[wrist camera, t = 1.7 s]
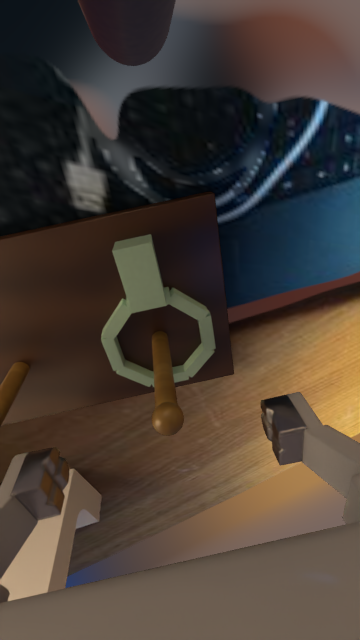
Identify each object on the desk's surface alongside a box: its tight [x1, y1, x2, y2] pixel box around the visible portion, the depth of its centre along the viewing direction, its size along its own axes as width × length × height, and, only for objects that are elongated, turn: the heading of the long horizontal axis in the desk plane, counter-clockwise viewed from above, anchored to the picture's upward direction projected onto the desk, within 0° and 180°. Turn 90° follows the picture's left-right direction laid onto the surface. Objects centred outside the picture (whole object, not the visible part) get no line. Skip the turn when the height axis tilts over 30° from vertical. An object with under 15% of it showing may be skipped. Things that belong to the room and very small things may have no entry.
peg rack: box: [0, 191, 234, 436], centre depth 22 cm, size 19×28×13 cm
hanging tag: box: [101, 234, 216, 387], centre depth 26 cm, size 15×10×2 cm
